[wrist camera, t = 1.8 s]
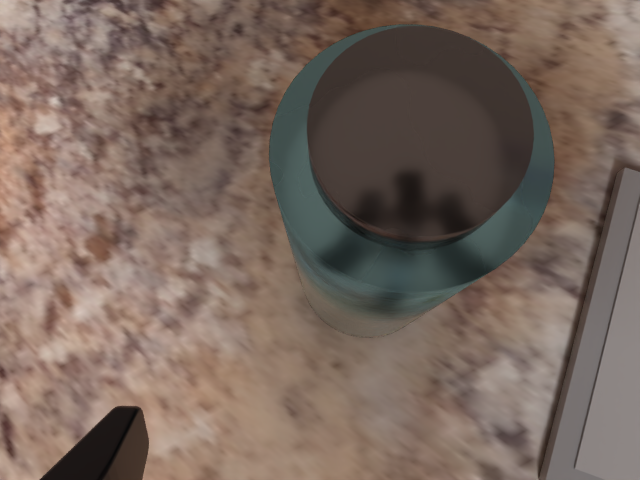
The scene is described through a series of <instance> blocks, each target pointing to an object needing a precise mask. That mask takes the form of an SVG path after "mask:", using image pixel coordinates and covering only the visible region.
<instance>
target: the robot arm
mask: <svg viewBox="0 0 640 480" xmlns="http://www.w3.org/2000/svg"><path fill="white" fill-rule="evenodd" d="M148 448H149V438H148V433H147V429H146V424H145V420H144V415H143V411H142V409H141V408H140V407H137V406H117V407H115V408H113V409H112V410H111V411H110V412H109V413H108V414H107V415H106V416H105V417H104V418H103V419H102V420H101V421H100V422H99V423H98V424H97V425H96V426H95V427H94V428H93V429H92V430H91V431H89V432H88V433H87V434H86V435H85V436H84V437H83V438H82V439H81V440H80V441H79V442H78V443H77V444H76V445H75V446H74V447H73V448H72V449H71V450H70V451H69V452H68V453H67V454H66V455H65V456H64V457H63V458H62V459H61V460H59V461H58V462H57V463H56V464H55V465H54V466H53V467H52V468H51V469H50V470H49V471H48V472H47V473H46V474H45V475H44V476H43V477H42V478H41V479H40V480H142V478H143V473H144V468H145V464H146V459H147V455H148Z"/></svg>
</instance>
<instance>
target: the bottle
mask: <svg viewBox="0 0 640 480" xmlns="http://www.w3.org/2000/svg"><path fill="white" fill-rule="evenodd" d="M269 162H270V172H271V178H272V182H273V186H274V190H275V194H276V198H277V201H278V204H279V208H280V211H281V215H282V218H283V222H284V225H285V228H286V232H287V235H288V239H289V242H290V246H291V249H292V252H293V256H294V259H295V263H296V266H297V270H298V273H299V276H300V280H301V283H302V287H303V290H304V293H305V296H306V298H307V300H308V302H309V304H310V306H311V307H312V309H313V310H314V311H315V313H316V314H317V315H318V316H319V317H320V318H321V319H322V320H323V321H324V322H325V323H327V324H328V325H329V326H331V327H333V328H334V329H336V330H338V331H340V332H342V333H345V334H348V335H351V336H356V337H369V338H371V337H380V336H384V335H388V334H391V333H393V332H395V331H398V330H399V329H401V328H403V327H405V326H406V325H408V324H409V323H411V322H412V321H414V320H416V319H417V318H419V317H420V316H422V315H423V314H425V313H426V312H428V311H430V310H431V309H433V308H434V307H436V306H437V305H439V304H441V303H442V302H444V301H445V300H447V299H448V298H450V297H452V296H453V295H455V294H456V293H458V292H459V291H461V290H463V289H464V288H466V287H467V286H469V285H470V284H472V283H474V282H475V281H477V280H478V279H480V278H481V277H483V276H485V275H486V274H488V273H489V272H491V271H492V270H494V269H496V268H497V267H498V266H500V265H501V264H502V263H504V262H505V261H506V260H507V259H509V258H510V257H511V256H512V255H513V254H514V253H515V252H516V251H517V250H518V249H519V248H520V247H521V246H522V245H523V244H524V243H525V242H526V240H527V239H528V238H529V236H530V235H531V234H532V232H533V231H534V229H535V228H536V226H537V224H538V222H539V220H540V219H541V217H542V215H543V213H544V210H545V208H546V205H547V202H548V199H549V197H550V192H551V187H552V183H553V176H554V149H553V141H552V136H551V132H550V127H549V124H548V121H547V119H546V116H545V113H544V111H543V108H542V107H541V105H540V103H539V101H538V99H537V97H536V95H535V93H534V92H533V91H532V89H531V88H530V86H529V85H528V84H527V82H526V81H525V79H524V78H523V77H522V76H521V75H520V74H519V73H518V72H517V71H516V70H515V68H514V67H513V66H512V65H510V64H509V63H508V62H507V61H506V60H505V59H503V58H502V57H501V56H500V55H499V54H497V53H496V52H494V51H493V50H491V49H490V48H488V47H487V46H485V45H483V44H481V43H479V42H477V41H475V40H473V39H471V38H469V37H467V36H464V35H462V34H459V33H456V32H454V31H450V30H446V29H442V28H438V27H433V26H424V25H402V24H399V25H390V26H382V27H377V28H373V29H369V30H365V31H362V32H359V33H356V34H354V35H351V36H348V37H346V38H344V39H342V40H340V41H338V42H336V43H334V44H333V45H331V46H330V47H328V48H327V49H325V50H324V51H322V52H321V53H319V54H318V55H317V56H316V57H315V58H314V59H312V60H311V61H310V62H309V63H308V64H307V65H306V66H305V67H304V68H303V69H302V70H301V71H300V73H299V74H298V75H297V76H296V77H295V78H294V80H293V81H292V83H291V84H290V86H289V87H288V89H287V90H286V92H285V94H284V96H283V98H282V100H281V102H280V104H279V106H278V109H277V112H276V115H275V118H274V121H273V125H272V130H271V136H270V146H269Z"/></svg>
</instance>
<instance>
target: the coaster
mask: <svg viewBox="0 0 640 480" xmlns="http://www.w3.org/2000/svg"><path fill="white" fill-rule="evenodd" d="M539 480H640V172H638V171H635V170H632V169H629V168H626V167H625V168H623V169H622V170H620V171H619V172H617V175H616V179H615V183H614V187H613V191H612V195H611V199H610V203H609V207H608V211H607V214H606V218H605V222H604V226H603V230H602V234H601V238H600V242H599V246H598V250H597V254H596V257H595V261H594V265H593V269H592V273H591V277H590V281H589V285H588V289H587V293H586V297H585V300H584V304H583V308H582V312H581V316H580V320H579V324H578V328H577V332H576V336H575V340H574V343H573V347H572V351H571V355H570V359H569V363H568V367H567V371H566V375H565V379H564V383H563V386H562V390H561V394H560V398H559V402H558V406H557V410H556V414H555V418H554V422H553V426H552V429H551V433H550V437H549V441H548V445H547V449H546V453H545V457H544V461H543V465H542V469H541V473H540V476H539Z"/></svg>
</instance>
